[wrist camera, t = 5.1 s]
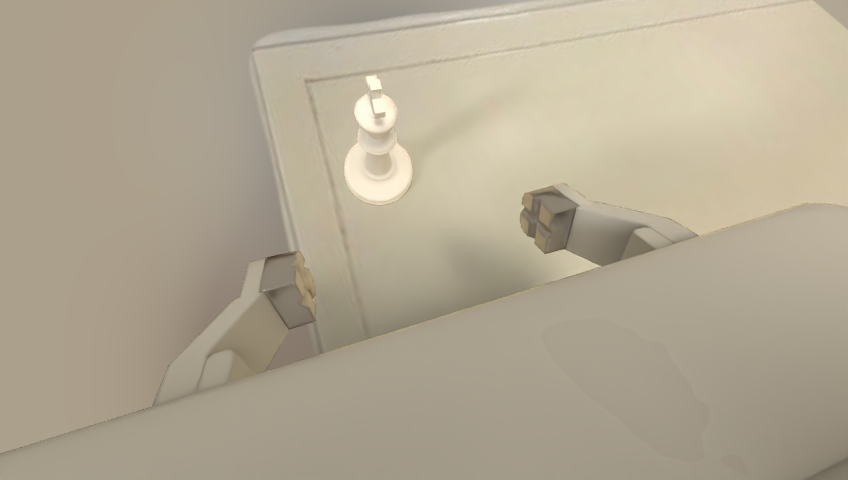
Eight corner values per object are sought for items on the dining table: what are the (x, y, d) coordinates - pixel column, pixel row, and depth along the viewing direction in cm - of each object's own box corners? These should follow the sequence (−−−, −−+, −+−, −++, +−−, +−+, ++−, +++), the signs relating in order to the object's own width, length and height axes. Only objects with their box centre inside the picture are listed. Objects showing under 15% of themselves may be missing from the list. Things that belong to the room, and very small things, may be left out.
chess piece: (352, 211, 21) (327, 153, 11) (337, 146, 22) (299, 37, 12) (419, 196, 22) (449, 130, 12) (403, 134, 23) (418, 22, 13)
